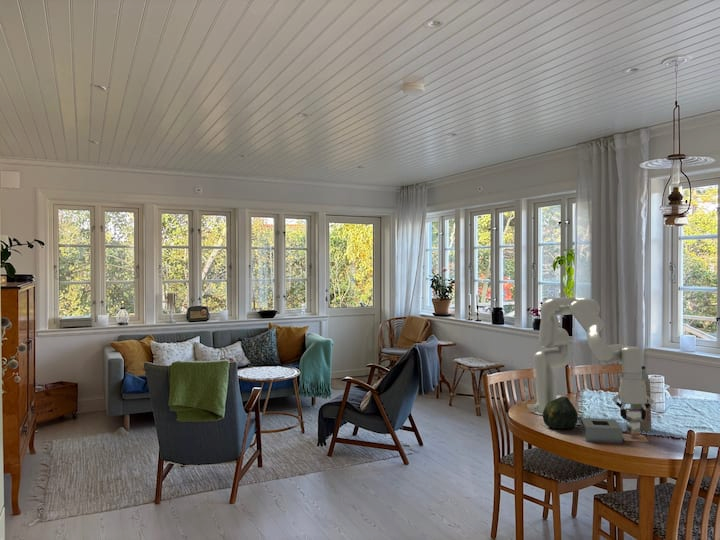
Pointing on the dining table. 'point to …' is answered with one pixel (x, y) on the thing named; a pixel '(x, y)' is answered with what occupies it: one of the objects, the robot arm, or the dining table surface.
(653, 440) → the dining table surface
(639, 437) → the coaster
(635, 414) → the end cover
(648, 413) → the thermos bottle
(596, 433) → the box
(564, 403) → the squash
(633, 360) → the robot arm
